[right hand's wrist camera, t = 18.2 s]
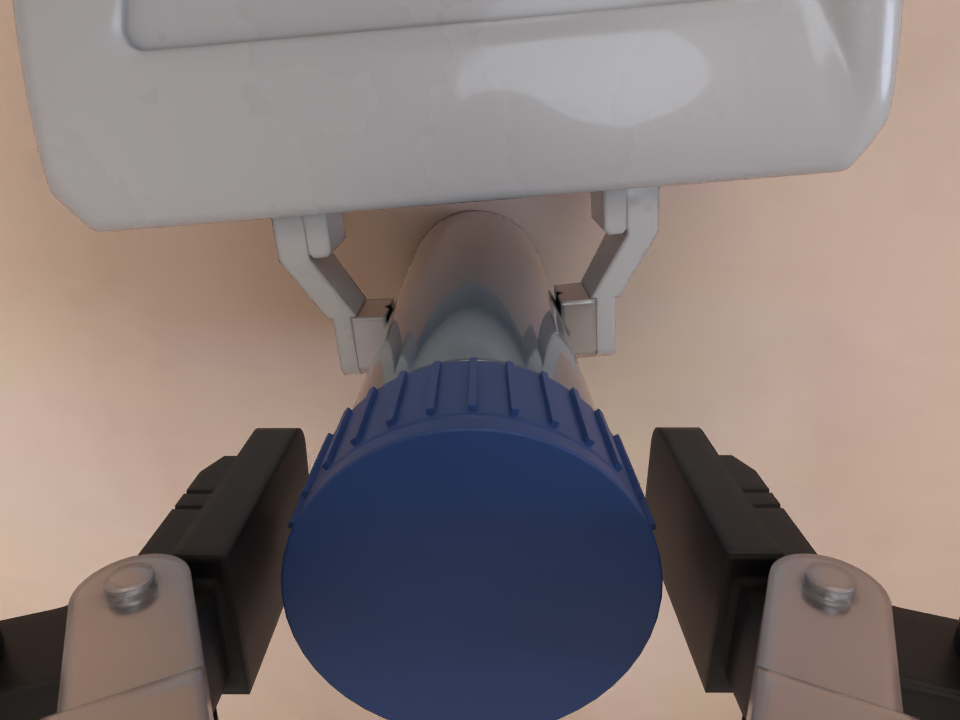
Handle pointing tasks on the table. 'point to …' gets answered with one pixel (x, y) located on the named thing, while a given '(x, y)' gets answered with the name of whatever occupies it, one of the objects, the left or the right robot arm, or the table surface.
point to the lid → (472, 549)
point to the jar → (476, 306)
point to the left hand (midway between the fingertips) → (479, 358)
